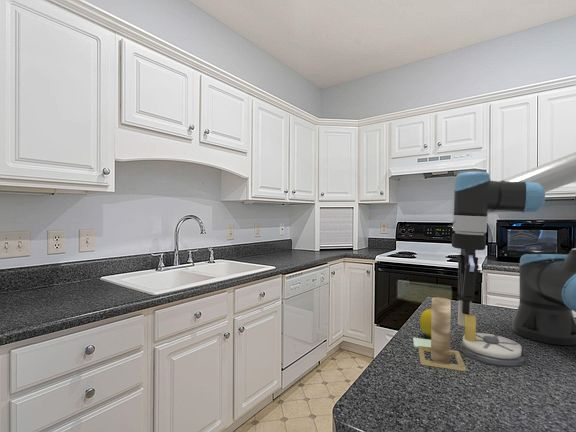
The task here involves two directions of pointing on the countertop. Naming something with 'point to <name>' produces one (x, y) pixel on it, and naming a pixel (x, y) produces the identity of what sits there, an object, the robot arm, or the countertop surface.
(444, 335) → the dowel
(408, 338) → the countertop surface
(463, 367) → the square gold frame
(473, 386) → the countertop surface
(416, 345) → the coaster
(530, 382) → the countertop surface
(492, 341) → the handwheel
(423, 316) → the lemon
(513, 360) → the wheel base
